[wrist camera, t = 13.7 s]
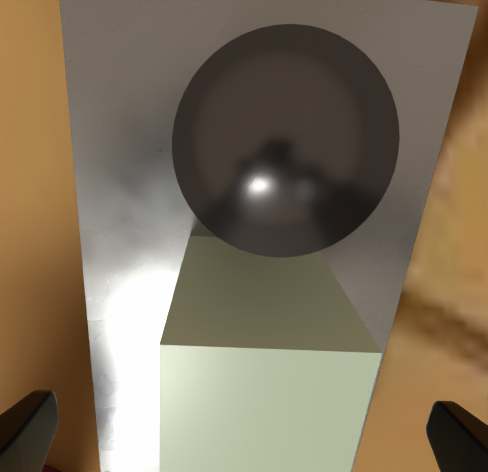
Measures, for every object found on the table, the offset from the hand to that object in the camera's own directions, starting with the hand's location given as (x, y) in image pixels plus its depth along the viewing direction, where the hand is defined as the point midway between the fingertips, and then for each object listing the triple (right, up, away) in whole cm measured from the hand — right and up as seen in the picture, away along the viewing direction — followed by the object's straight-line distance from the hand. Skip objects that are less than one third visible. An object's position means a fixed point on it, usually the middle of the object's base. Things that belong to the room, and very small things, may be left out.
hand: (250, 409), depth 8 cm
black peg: (0, +7, +3) cm, 8 cm away
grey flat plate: (0, +3, +7) cm, 8 cm away
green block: (0, +2, +5) cm, 5 cm away
